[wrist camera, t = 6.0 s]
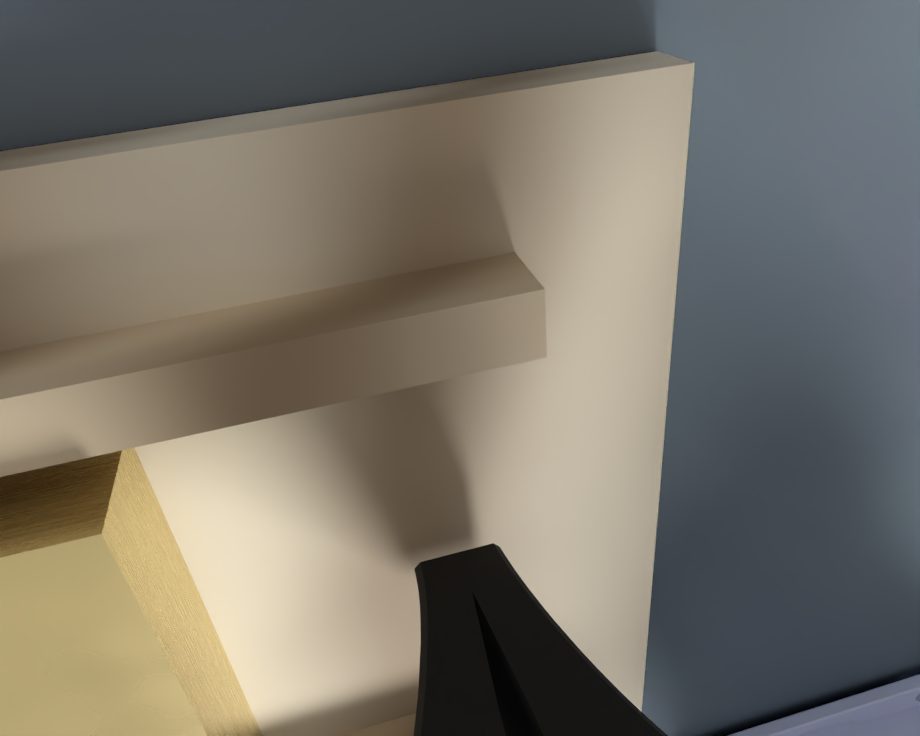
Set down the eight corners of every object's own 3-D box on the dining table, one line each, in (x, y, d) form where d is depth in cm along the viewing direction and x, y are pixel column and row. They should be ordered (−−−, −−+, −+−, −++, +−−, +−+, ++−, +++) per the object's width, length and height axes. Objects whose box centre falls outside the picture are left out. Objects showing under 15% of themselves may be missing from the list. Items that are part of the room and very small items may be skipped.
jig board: (657, 51, 10) (749, 79, 8) (622, 688, 18) (664, 773, 16) (-1444, 371, 7) (-2097, 540, 5) (-319, 971, 15) (-399, 1118, 13)
